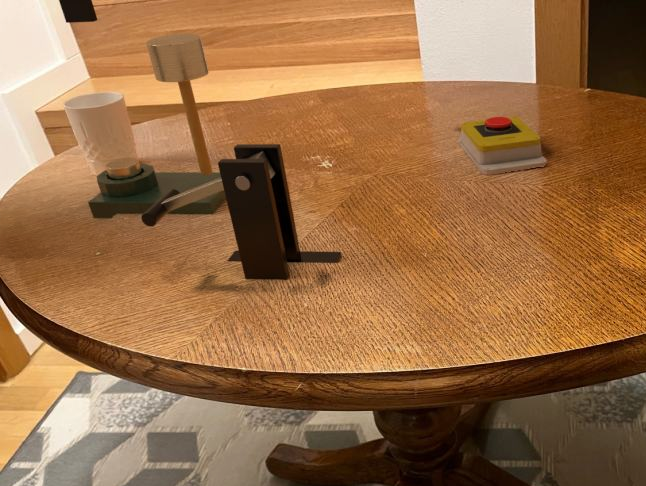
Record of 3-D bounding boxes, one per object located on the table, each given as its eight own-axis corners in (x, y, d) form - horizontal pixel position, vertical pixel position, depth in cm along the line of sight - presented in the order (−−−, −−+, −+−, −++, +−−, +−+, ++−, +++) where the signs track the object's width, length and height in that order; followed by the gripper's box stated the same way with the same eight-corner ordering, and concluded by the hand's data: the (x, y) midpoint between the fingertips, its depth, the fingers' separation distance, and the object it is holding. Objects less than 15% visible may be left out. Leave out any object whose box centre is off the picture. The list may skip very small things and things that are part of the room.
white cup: (85, 166, 108) (61, 97, 103) (140, 155, 111) (120, 88, 106) (89, 183, 103) (64, 111, 97) (147, 171, 105) (126, 101, 100)
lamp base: (90, 218, 92) (79, 188, 90) (128, 187, 101) (119, 159, 98) (214, 219, 90) (206, 188, 88) (242, 187, 99) (236, 159, 96)
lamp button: (103, 182, 93) (99, 168, 92) (119, 170, 96) (115, 157, 95) (133, 182, 92) (129, 168, 91) (148, 170, 95) (144, 157, 94)
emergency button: (515, 104, 110) (549, 135, 98) (515, 133, 112) (549, 166, 100) (455, 111, 108) (483, 143, 96) (456, 140, 110) (483, 175, 98)
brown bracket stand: (205, 301, 74) (168, 170, 66) (237, 259, 81) (207, 137, 73) (320, 304, 72) (297, 170, 65) (342, 261, 80) (324, 136, 72)
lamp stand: (174, 182, 90) (136, 46, 81) (194, 164, 95) (160, 34, 86) (220, 182, 90) (187, 44, 81) (238, 164, 95) (208, 33, 86)
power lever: (149, 232, 72) (135, 211, 70) (176, 207, 76) (162, 187, 75) (261, 190, 68) (248, 166, 66) (281, 166, 73) (269, 144, 71)
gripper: (-14, -291, 51) (88, 33, 63) (146, -253, 71) (200, -14, 83) (-112, -283, 52) (7, 36, 64) (74, -248, 72) (138, -12, 84)
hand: (117, 8), depth 74 cm, fingers open, 13 cm apart
